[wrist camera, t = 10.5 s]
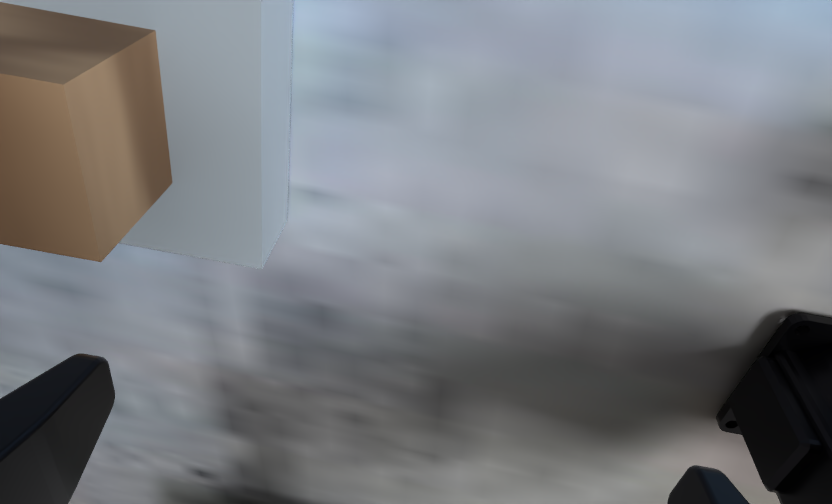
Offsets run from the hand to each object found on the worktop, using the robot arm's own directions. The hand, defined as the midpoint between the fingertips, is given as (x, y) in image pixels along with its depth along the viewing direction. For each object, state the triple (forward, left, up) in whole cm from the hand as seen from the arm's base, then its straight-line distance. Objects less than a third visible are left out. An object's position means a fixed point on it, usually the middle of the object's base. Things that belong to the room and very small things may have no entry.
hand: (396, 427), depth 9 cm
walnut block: (+10, 0, -9) cm, 13 cm away
